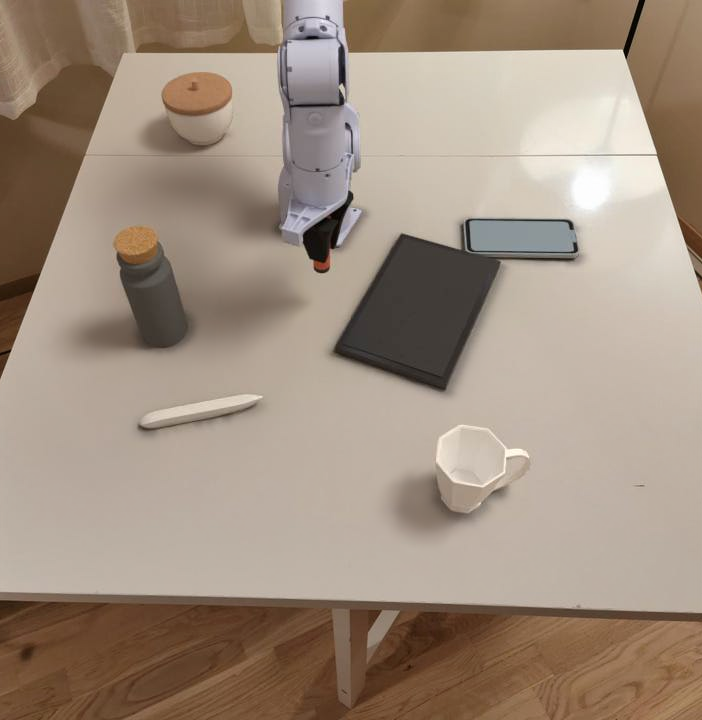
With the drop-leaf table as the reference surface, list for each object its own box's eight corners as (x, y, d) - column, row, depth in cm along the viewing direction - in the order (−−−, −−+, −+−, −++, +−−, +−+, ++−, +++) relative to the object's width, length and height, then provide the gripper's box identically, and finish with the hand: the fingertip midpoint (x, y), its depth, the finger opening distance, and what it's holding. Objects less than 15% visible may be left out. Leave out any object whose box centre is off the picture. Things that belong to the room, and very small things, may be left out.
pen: (265, 408, 80) (264, 400, 79) (141, 432, 79) (137, 424, 77) (263, 397, 81) (261, 389, 80) (140, 421, 80) (137, 412, 78)
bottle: (196, 318, 89) (172, 227, 77) (175, 353, 86) (146, 263, 74) (155, 308, 90) (125, 217, 78) (132, 341, 87) (97, 251, 75)
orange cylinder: (310, 270, 85) (309, 219, 79) (318, 259, 86) (317, 209, 80) (325, 275, 85) (325, 225, 79) (332, 265, 86) (333, 214, 80)
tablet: (334, 353, 85) (334, 346, 84) (400, 239, 97) (401, 232, 96) (445, 391, 81) (446, 384, 80) (499, 267, 93) (501, 260, 92)
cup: (419, 470, 75) (425, 429, 68) (510, 454, 76) (524, 412, 69) (437, 531, 71) (445, 493, 64) (533, 513, 72) (550, 474, 65)
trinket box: (209, 107, 118) (199, 54, 111) (251, 132, 114) (244, 78, 106) (158, 135, 114) (144, 81, 106) (200, 163, 109) (188, 108, 102)
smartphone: (463, 217, 99) (573, 218, 97) (462, 222, 99) (571, 223, 98) (465, 253, 94) (580, 255, 93) (465, 258, 95) (579, 260, 94)
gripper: (313, 110, 78) (318, 207, 89) (250, 186, 70) (264, 283, 81) (372, 124, 76) (370, 221, 87) (314, 204, 68) (320, 300, 79)
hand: (322, 252), depth 84 cm, fingers closed on orange cylinder, 2 cm apart
